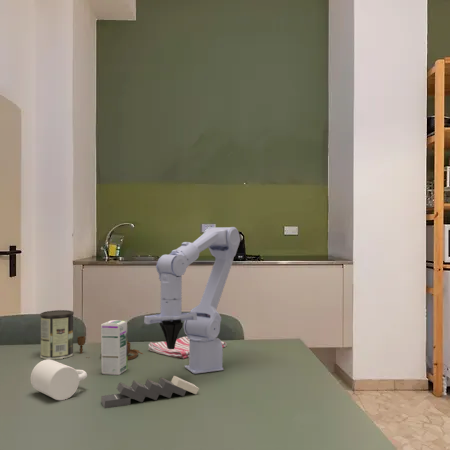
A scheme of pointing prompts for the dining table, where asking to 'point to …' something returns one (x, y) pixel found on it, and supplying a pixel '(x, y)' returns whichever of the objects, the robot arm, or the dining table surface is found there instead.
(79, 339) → the place setting
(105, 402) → the domino
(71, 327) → the coffee can
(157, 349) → the dish towel
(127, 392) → the domino
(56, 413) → the dining table surface
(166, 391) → the domino
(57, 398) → the mug
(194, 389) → the domino
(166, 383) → the domino
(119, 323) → the syrup box
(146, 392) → the domino
